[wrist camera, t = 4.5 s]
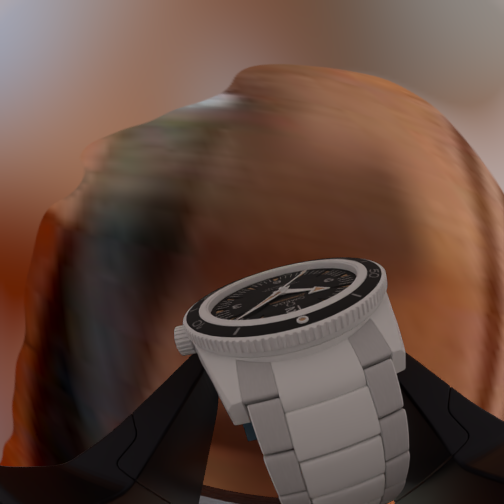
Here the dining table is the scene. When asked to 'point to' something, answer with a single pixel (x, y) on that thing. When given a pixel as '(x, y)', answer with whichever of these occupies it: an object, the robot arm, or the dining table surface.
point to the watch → (310, 376)
